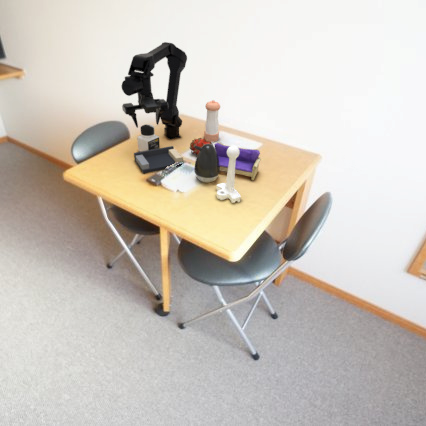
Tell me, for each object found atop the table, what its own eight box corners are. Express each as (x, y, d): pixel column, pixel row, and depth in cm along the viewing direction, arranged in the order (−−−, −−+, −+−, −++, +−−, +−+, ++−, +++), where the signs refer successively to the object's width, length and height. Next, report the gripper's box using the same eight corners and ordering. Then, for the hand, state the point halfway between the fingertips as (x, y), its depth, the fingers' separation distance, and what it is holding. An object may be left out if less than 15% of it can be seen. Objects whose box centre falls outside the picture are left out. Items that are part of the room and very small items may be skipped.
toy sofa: (206, 171, 134) (206, 148, 128) (212, 162, 141) (214, 140, 135) (254, 181, 129) (257, 159, 123) (259, 171, 136) (262, 149, 129)
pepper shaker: (205, 135, 164) (206, 97, 152) (219, 136, 163) (221, 98, 152) (203, 141, 158) (204, 102, 147) (217, 142, 158) (220, 103, 146)
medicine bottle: (149, 155, 143) (147, 130, 136) (138, 151, 147) (135, 126, 140) (160, 150, 148) (158, 125, 141) (149, 146, 151) (147, 121, 144)
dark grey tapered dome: (194, 172, 133) (195, 137, 124) (219, 173, 133) (222, 139, 124) (192, 184, 125) (192, 149, 116) (218, 186, 125) (221, 151, 116)
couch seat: (173, 153, 146) (172, 145, 144) (183, 165, 138) (183, 157, 135) (134, 161, 139) (133, 152, 137) (143, 173, 131) (142, 165, 128)
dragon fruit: (187, 158, 146) (210, 157, 151) (194, 155, 138) (218, 154, 144) (184, 140, 146) (207, 139, 151) (192, 135, 138) (216, 135, 144)
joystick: (242, 200, 118) (249, 151, 106) (226, 206, 115) (230, 156, 102) (225, 186, 125) (229, 138, 113) (209, 191, 122) (211, 143, 110)
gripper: (127, 97, 122) (131, 136, 131) (172, 92, 129) (174, 129, 138) (119, 89, 129) (124, 126, 139) (163, 85, 136) (164, 120, 146)
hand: (147, 125), depth 140 cm, fingers open, 9 cm apart
